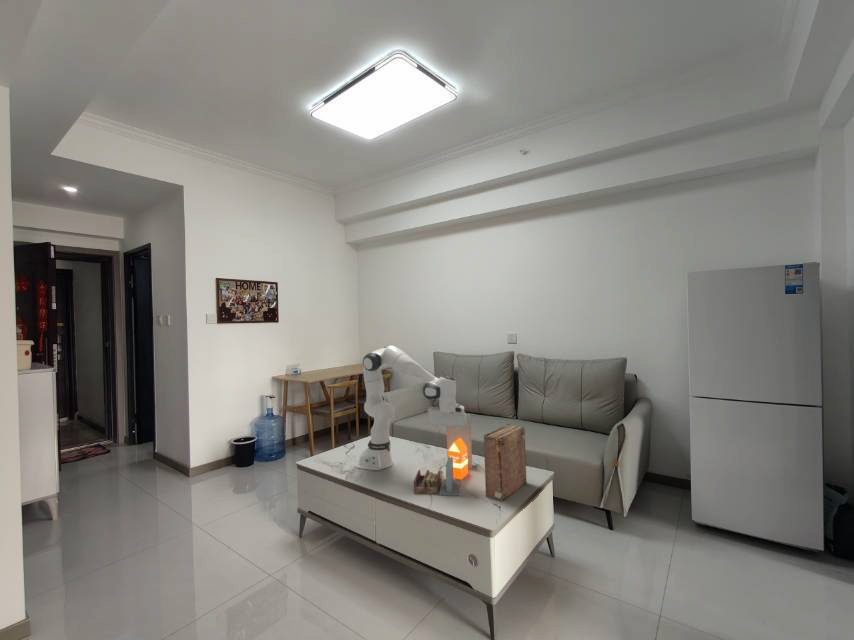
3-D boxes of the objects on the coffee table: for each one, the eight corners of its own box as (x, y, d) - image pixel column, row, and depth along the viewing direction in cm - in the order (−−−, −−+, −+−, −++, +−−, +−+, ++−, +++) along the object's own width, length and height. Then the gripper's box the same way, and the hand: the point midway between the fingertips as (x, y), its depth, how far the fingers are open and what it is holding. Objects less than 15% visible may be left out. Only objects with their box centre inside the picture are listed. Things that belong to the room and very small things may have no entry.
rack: (413, 493, 197) (413, 481, 197) (419, 480, 213) (418, 469, 213) (437, 494, 195) (436, 482, 195) (440, 480, 211) (440, 469, 211)
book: (510, 478, 211) (509, 423, 210) (526, 483, 205) (524, 426, 204) (485, 496, 192) (483, 435, 191) (502, 501, 186) (500, 438, 185)
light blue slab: (446, 491, 197) (445, 465, 197) (449, 481, 209) (448, 457, 209) (451, 491, 196) (450, 466, 196) (453, 481, 208) (452, 457, 208)
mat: (438, 495, 194) (438, 494, 194) (442, 480, 212) (442, 479, 212) (458, 496, 193) (458, 494, 193) (461, 480, 211) (461, 479, 211)
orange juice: (468, 473, 220) (467, 438, 219) (461, 479, 212) (460, 442, 212) (455, 471, 224) (454, 436, 223) (448, 477, 216) (447, 441, 216)
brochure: (472, 464, 233) (470, 414, 232) (472, 468, 227) (470, 416, 227) (448, 464, 234) (446, 414, 234) (447, 468, 229) (446, 416, 228)
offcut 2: (431, 491, 199) (430, 480, 199) (433, 483, 208) (433, 473, 208) (434, 491, 199) (434, 480, 199) (437, 483, 208) (436, 473, 208)
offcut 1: (426, 491, 199) (426, 480, 199) (429, 483, 209) (428, 472, 209) (430, 491, 199) (429, 480, 199) (433, 483, 209) (432, 472, 209)
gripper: (427, 407, 204) (426, 434, 204) (466, 409, 201) (466, 436, 201) (428, 405, 211) (428, 430, 210) (467, 406, 207) (466, 432, 207)
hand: (447, 433), depth 206 cm, fingers open, 8 cm apart
